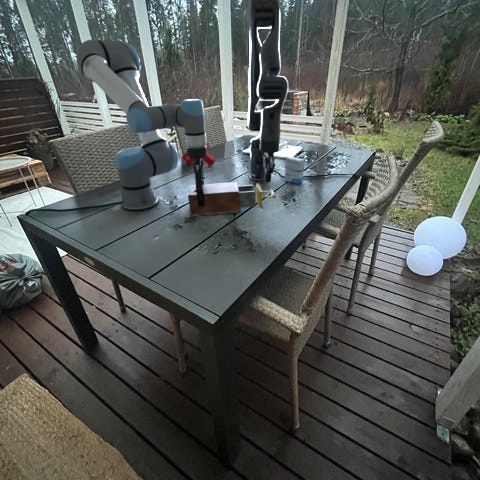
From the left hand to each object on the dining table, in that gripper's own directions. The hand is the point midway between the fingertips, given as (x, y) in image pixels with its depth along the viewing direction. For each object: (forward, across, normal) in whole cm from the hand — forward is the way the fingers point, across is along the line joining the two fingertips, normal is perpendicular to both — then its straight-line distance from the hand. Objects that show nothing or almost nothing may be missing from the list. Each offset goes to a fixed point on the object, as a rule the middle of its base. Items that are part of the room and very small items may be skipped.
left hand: (201, 200), depth 113 cm
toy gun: (+4, -64, -3) cm, 64 cm away
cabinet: (+4, 0, +5) cm, 7 cm away
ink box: (+5, -28, +47) cm, 56 cm away
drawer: (+3, 0, +18) cm, 19 cm away
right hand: (-7, 0, +28) cm, 28 cm away
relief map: (+5, -88, +49) cm, 101 cm away
